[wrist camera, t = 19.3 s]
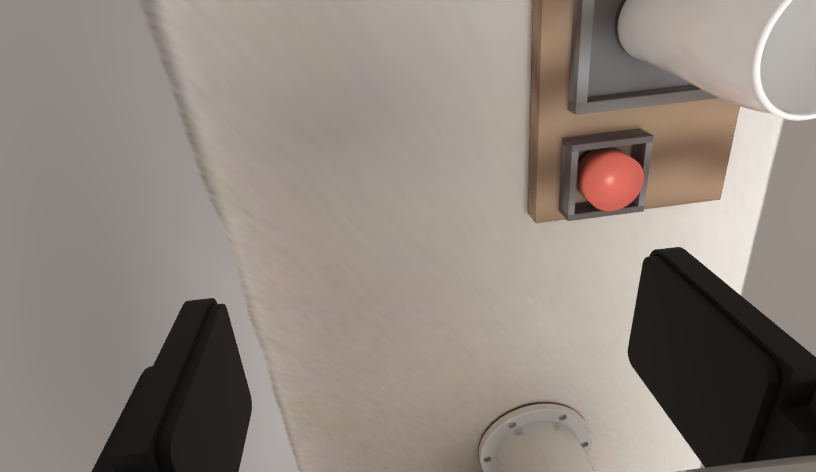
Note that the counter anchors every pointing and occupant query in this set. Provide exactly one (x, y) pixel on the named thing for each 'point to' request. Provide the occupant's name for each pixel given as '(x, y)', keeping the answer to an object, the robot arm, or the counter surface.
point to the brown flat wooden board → (615, 116)
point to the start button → (609, 178)
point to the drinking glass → (731, 49)
